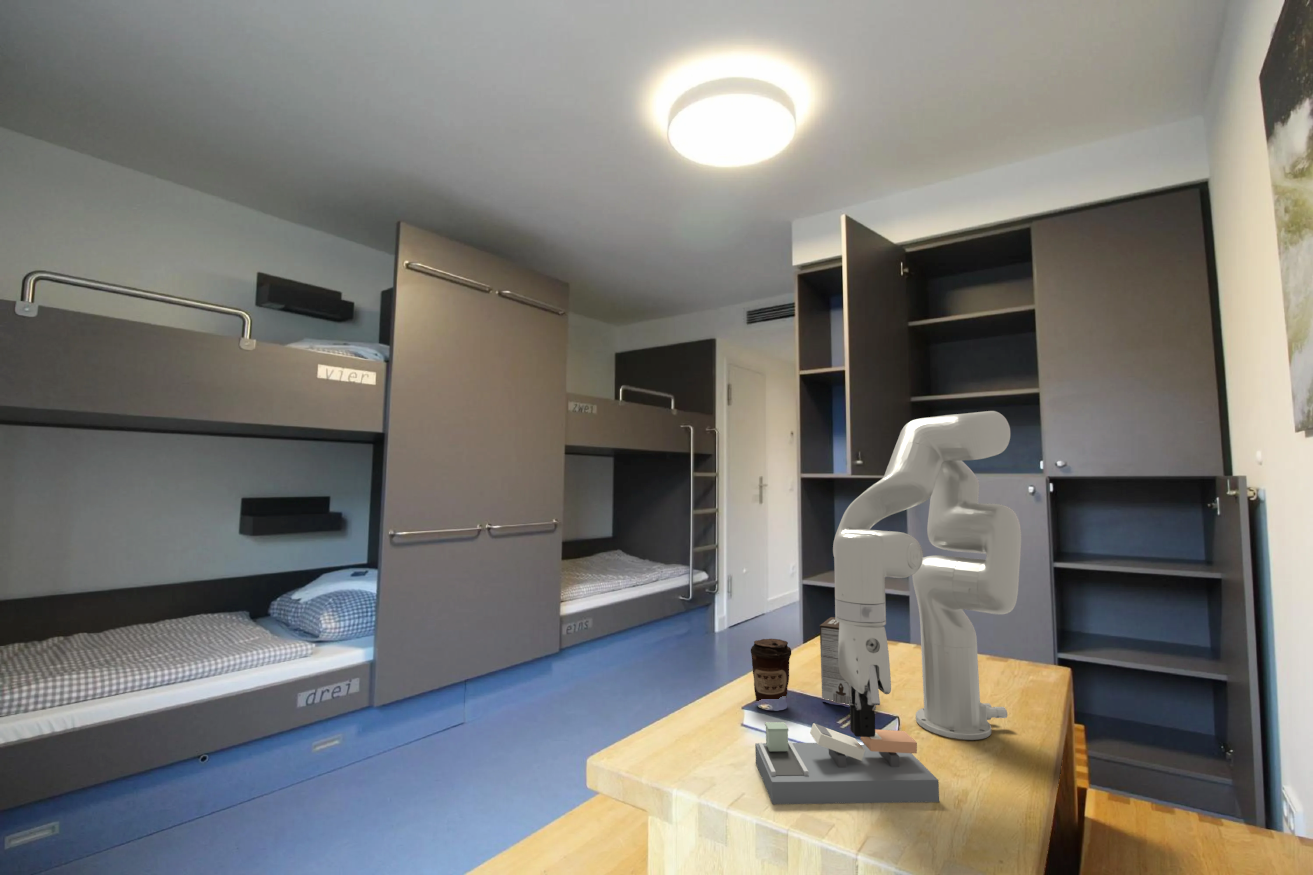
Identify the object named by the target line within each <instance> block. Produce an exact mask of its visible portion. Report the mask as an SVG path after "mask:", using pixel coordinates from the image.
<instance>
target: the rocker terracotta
mask: <svg viewBox="0 0 1313 875" xmlns="http://www.w3.org/2000/svg"><path fill="white" fill-rule="evenodd" d="M860 741H861V742H863V743H864V744H865V745H866V746H867V747H868V748H869V750H870V751H875V752H896V753H912V754H918V742H917V741H916V740H915V739H914V738H913V737H912V736H910V735H909V733H907V732H906V731H905V730H892V729H891V730H890V729H876V728H875V736H874V737H860Z"/></svg>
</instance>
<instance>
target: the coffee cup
mask: <svg viewBox="0 0 1313 875" xmlns="http://www.w3.org/2000/svg"><path fill="white" fill-rule="evenodd" d="M788 644H789V642H788V641H787V640H782V639H777V638H762V639H758V640H754V641H753V645H752V646H751V648H750V654H751V663H752V664H751V666H752V674H753V686H754V696H755V702H756V701H759V700H761V699H779V698H780V697H782V696H786V697H787V695H788V686H789V683H790V682H789V680H790V659H791V656H792V649H791V647H790V646H788Z"/></svg>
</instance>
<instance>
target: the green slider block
mask: <svg viewBox="0 0 1313 875" xmlns="http://www.w3.org/2000/svg"><path fill="white" fill-rule="evenodd" d="M764 725H765V743H766V745H767V747H768V749H769V751H788V742H789V727H788V726H787V724H786V723H785V722H784V721H783V722H782V721H781V722H779V721H778V722H777V721H774V722H771V721H770V722H769V721H767V722H764Z"/></svg>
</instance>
